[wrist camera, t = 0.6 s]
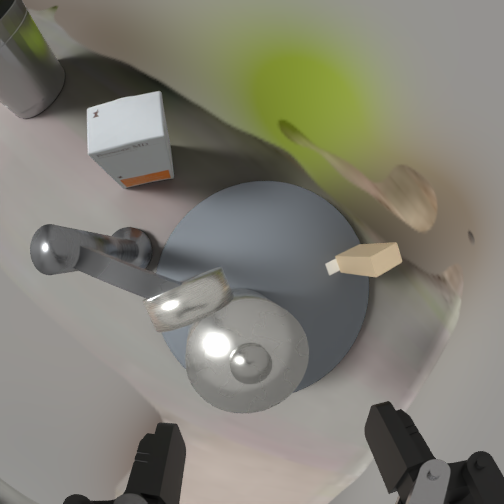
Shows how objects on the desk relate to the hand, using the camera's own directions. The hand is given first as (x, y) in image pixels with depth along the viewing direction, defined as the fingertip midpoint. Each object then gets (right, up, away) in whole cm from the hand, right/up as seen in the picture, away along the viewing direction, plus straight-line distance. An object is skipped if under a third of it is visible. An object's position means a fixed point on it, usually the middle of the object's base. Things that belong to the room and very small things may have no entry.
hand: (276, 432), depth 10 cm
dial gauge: (-11, +7, +19) cm, 23 cm away
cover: (-3, -1, +19) cm, 19 cm away
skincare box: (-13, +17, +19) cm, 28 cm away
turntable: (+1, +3, +22) cm, 22 cm away
